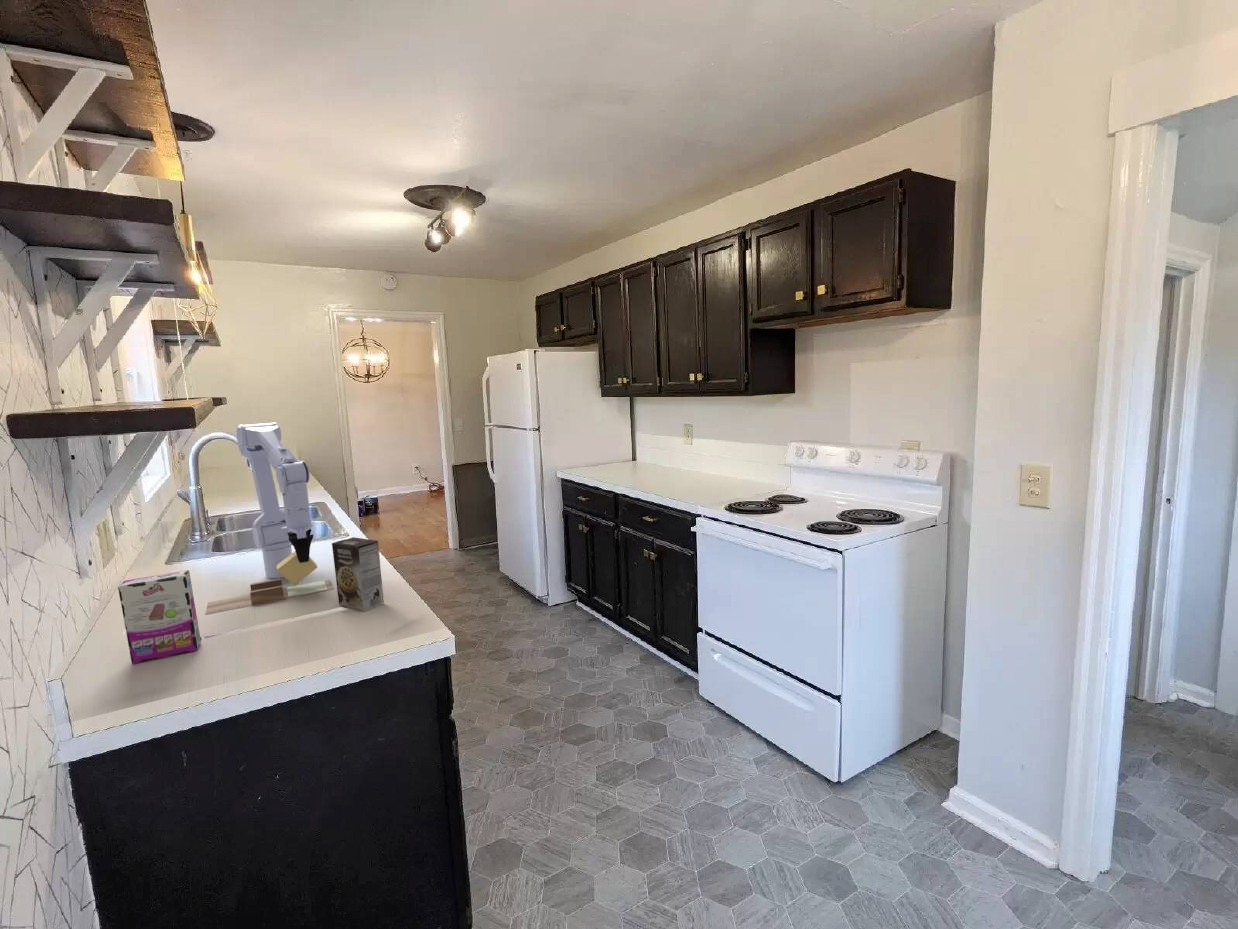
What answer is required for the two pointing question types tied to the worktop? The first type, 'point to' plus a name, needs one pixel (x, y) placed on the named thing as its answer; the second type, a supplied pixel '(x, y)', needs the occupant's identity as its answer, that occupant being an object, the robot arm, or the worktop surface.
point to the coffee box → (358, 573)
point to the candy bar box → (159, 616)
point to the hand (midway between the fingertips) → (303, 559)
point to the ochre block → (295, 568)
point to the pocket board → (267, 594)
